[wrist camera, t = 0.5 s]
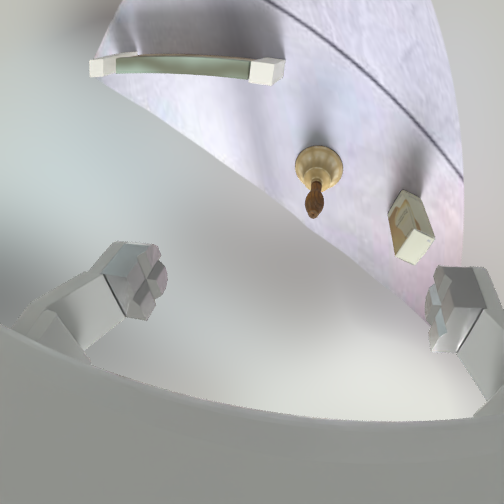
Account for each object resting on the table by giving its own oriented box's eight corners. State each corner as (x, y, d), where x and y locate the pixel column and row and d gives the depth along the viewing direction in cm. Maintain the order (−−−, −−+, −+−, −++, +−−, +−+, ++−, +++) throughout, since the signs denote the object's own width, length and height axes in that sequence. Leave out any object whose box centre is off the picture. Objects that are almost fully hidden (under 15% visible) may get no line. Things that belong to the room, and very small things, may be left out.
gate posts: (124, 52, 45) (89, 60, 37) (285, 60, 41) (274, 64, 34) (124, 66, 46) (89, 77, 39) (283, 77, 43) (271, 85, 36)
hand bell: (295, 143, 50) (280, 185, 38) (344, 147, 48) (347, 191, 36) (295, 187, 55) (280, 239, 43) (340, 191, 53) (340, 245, 41)
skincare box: (401, 188, 50) (415, 226, 40) (421, 197, 50) (437, 237, 40) (385, 215, 54) (393, 257, 45) (404, 224, 54) (415, 267, 45)
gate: (142, 52, 43) (115, 58, 37) (262, 58, 41) (249, 61, 35) (142, 66, 45) (115, 73, 39) (260, 73, 43) (247, 79, 37)
